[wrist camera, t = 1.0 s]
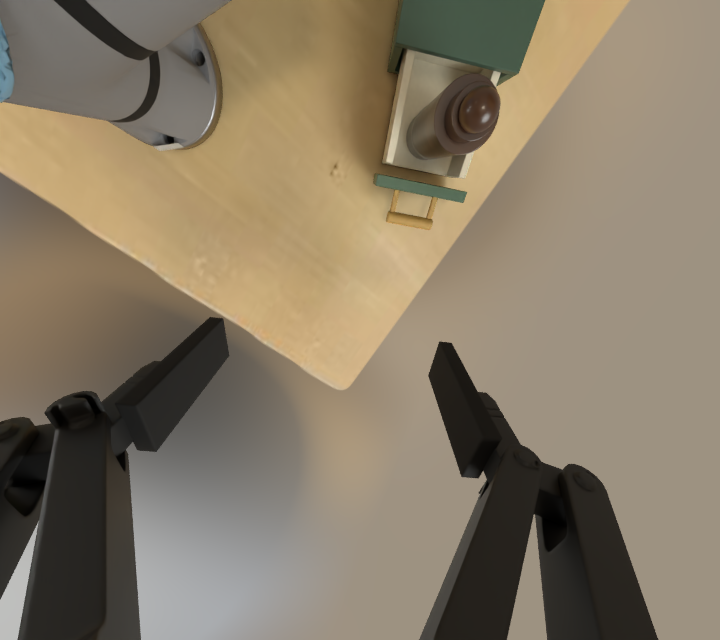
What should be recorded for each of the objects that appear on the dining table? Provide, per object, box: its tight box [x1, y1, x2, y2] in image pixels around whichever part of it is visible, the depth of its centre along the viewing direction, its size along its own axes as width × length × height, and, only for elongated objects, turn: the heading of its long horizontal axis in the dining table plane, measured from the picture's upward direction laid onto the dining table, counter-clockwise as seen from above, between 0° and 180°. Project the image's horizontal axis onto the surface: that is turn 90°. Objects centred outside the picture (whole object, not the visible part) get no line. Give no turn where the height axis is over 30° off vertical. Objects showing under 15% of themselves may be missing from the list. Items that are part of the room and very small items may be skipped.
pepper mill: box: [406, 73, 500, 160], centre depth 24 cm, size 5×5×18 cm
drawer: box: [373, 48, 501, 230], centre depth 31 cm, size 18×11×6 cm, turn 170°
